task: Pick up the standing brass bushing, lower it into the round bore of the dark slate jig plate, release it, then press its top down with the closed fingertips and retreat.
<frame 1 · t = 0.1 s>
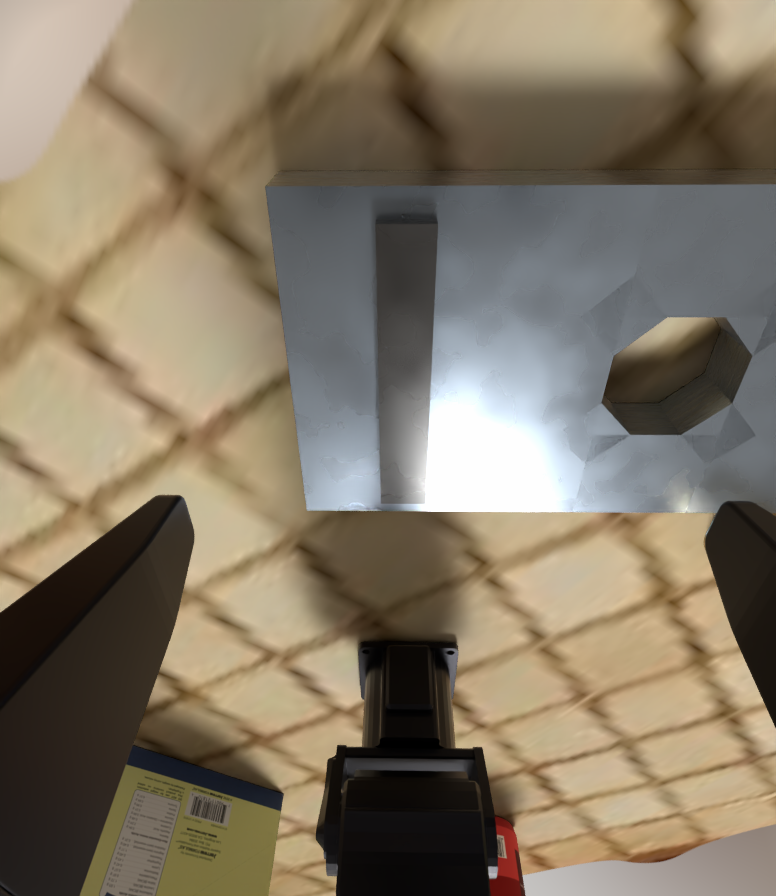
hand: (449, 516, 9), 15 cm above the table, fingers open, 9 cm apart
jig: (556, 351, 23), on the table
canned food: (474, 825, 55), on the table
protein box: (185, 786, 50), on the table
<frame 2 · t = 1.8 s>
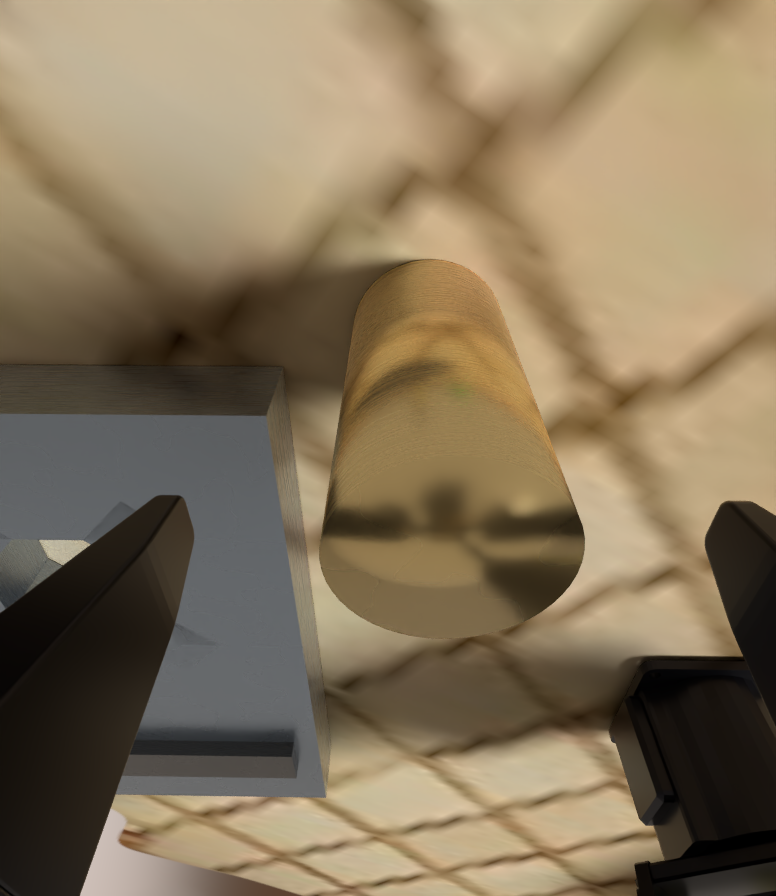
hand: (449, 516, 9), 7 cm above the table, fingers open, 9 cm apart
bushing: (427, 334, 15), on the table
jig: (139, 609, 22), on the table
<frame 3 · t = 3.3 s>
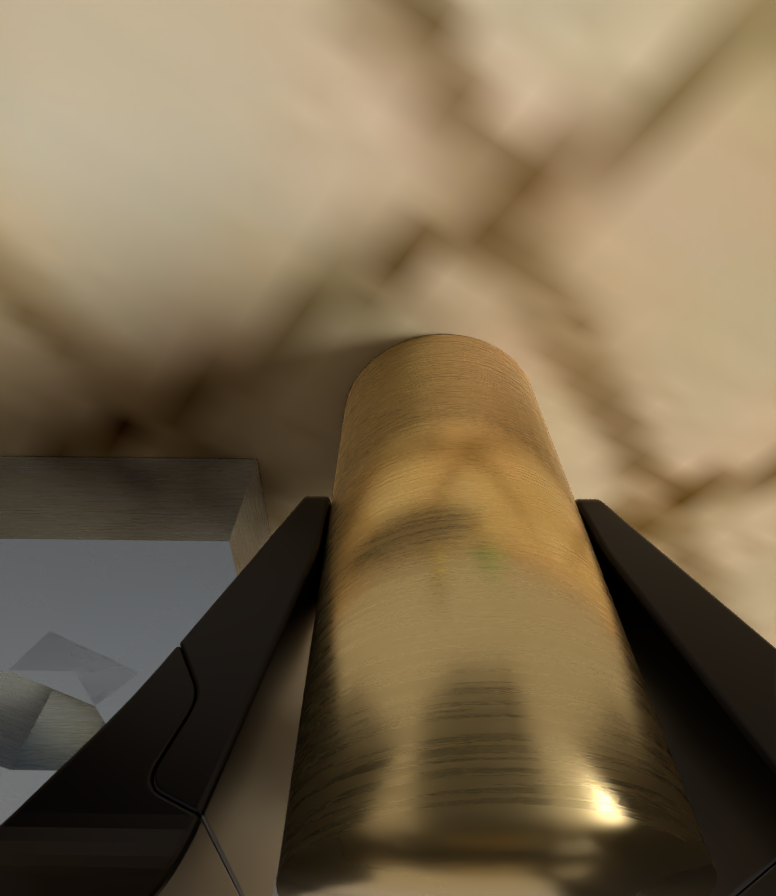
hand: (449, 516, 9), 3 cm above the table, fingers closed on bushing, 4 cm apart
bushing: (439, 422, 12), on the table, touching gripper
jig: (98, 711, 19), on the table
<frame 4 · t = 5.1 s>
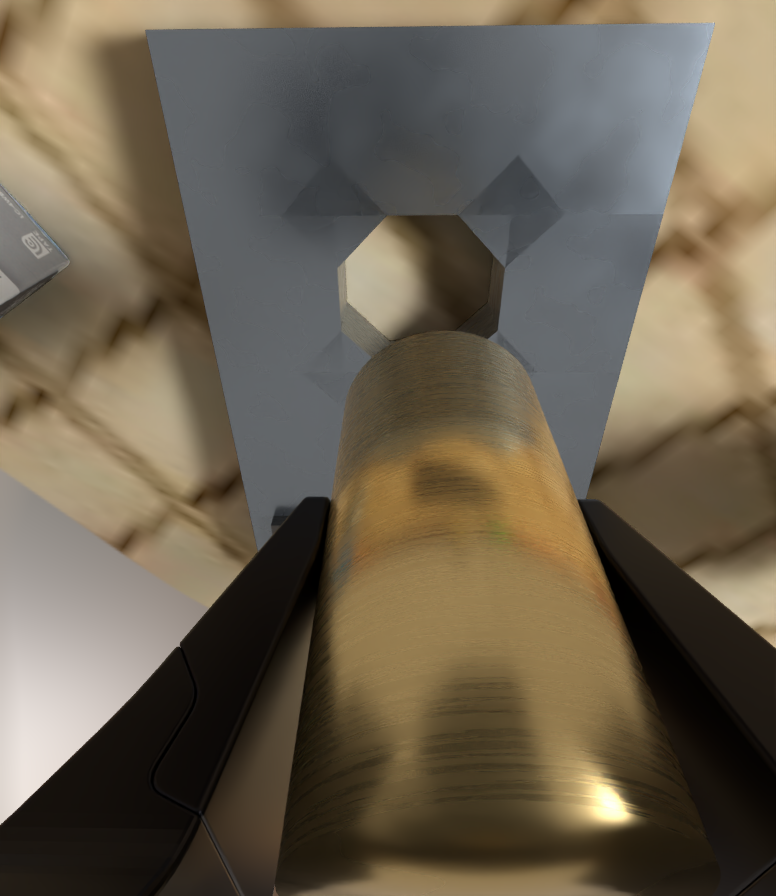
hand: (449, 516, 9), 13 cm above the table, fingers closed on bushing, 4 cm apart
bushing: (439, 419, 12), point 10 cm above the table, touching gripper
jig: (415, 373, 22), on the table
when the fingers open (4 cm above the table, at t = 7.1 s): bushing drops 1 cm, resting in jig.
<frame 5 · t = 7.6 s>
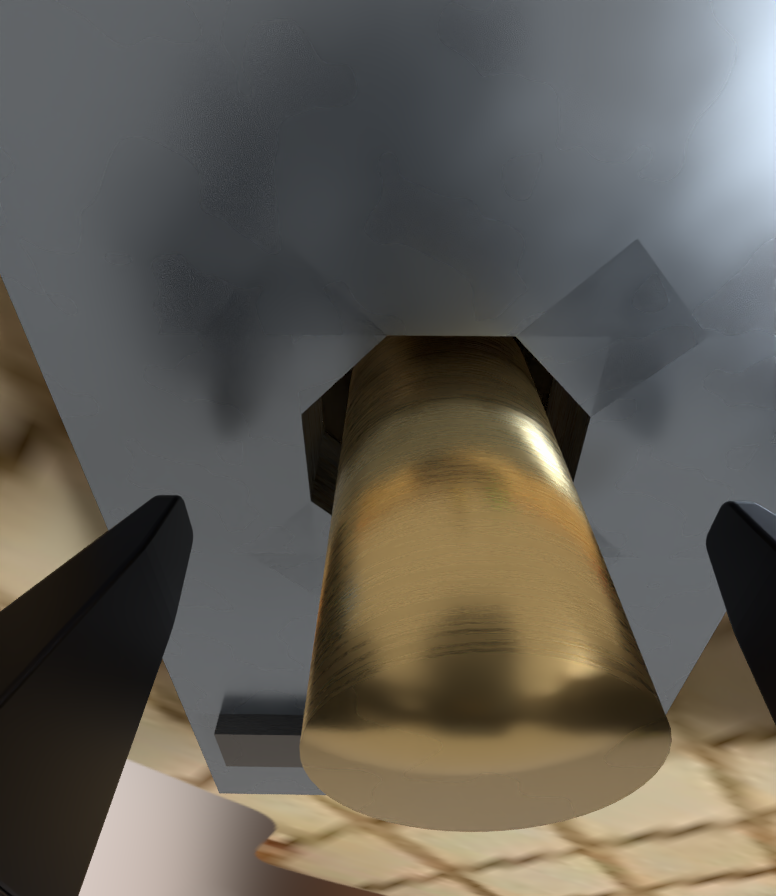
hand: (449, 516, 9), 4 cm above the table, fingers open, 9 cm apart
bushing: (438, 390, 13), resting in jig
jig: (427, 521, 15), on the table
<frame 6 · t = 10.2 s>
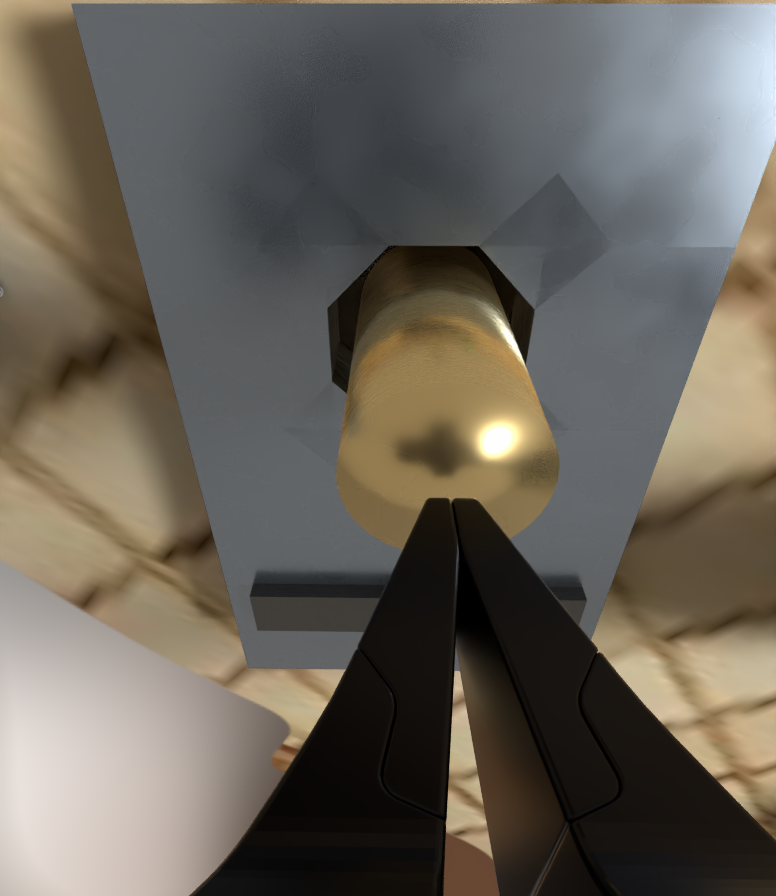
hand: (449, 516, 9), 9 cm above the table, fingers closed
bushing: (427, 306, 16), resting in jig
jig: (420, 421, 19), on the table
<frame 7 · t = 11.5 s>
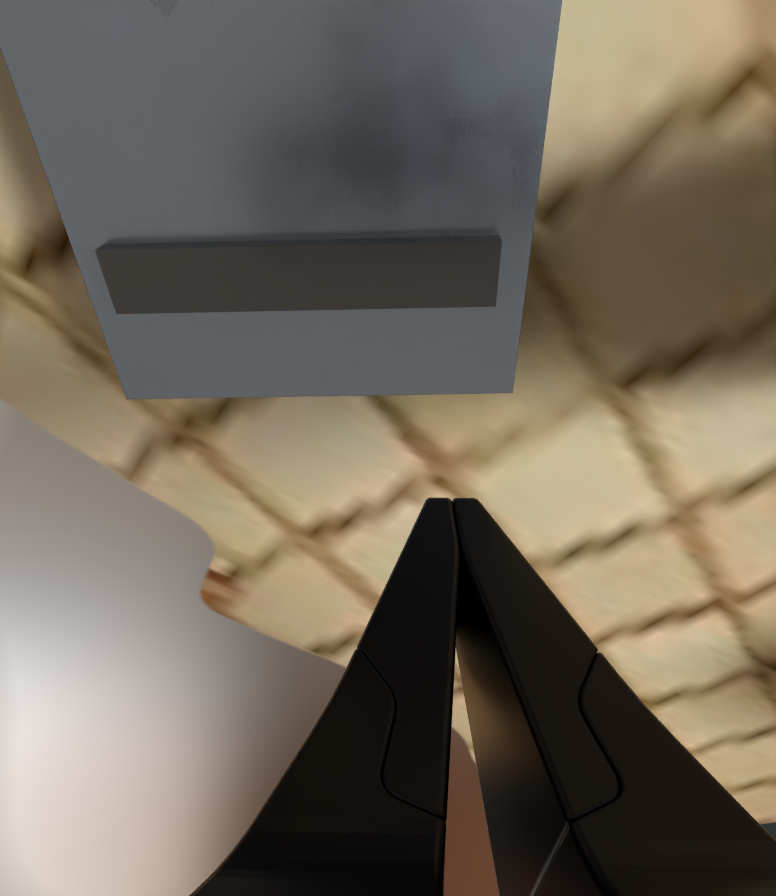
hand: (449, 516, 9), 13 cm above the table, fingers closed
jig: (288, 11, 15), on the table
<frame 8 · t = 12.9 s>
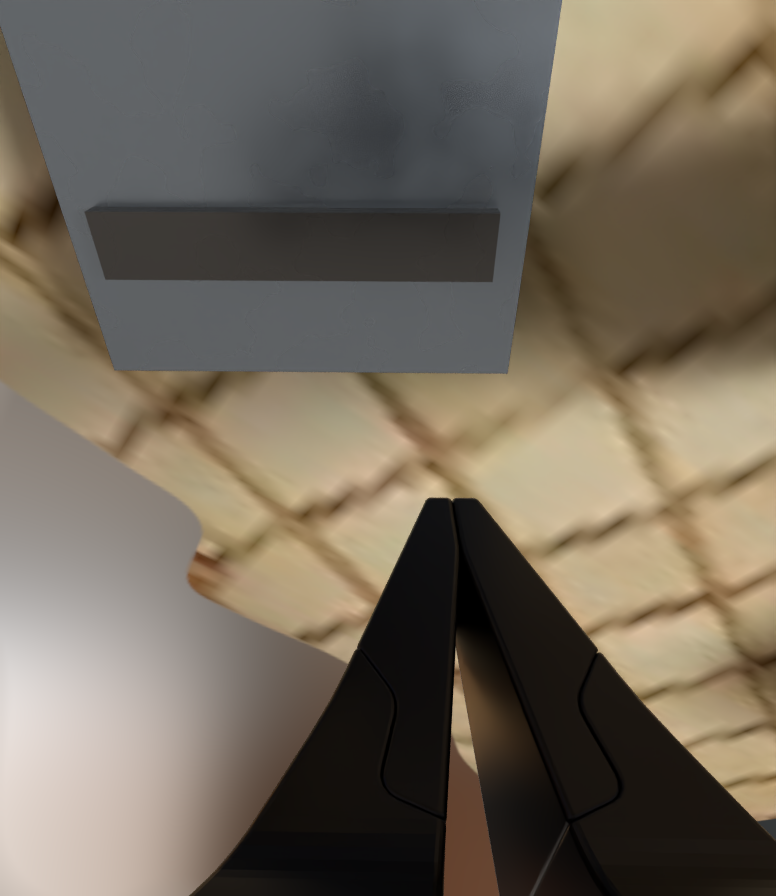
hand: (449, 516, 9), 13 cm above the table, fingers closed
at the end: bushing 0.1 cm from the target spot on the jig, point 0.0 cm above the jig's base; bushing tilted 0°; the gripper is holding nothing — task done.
